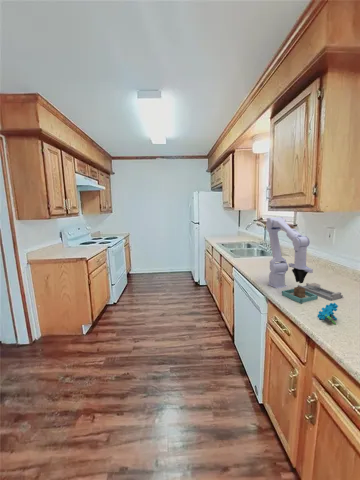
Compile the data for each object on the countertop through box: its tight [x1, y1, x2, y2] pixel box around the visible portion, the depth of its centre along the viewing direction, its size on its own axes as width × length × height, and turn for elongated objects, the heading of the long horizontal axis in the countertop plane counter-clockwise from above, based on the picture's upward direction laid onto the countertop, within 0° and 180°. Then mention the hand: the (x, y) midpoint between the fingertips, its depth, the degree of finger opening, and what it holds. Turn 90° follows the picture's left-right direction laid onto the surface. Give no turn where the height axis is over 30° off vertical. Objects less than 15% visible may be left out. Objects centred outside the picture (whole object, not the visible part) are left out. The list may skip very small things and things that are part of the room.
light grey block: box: [308, 282, 321, 291], centre depth 139 cm, size 4×5×4 cm
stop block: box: [293, 286, 306, 299], centre depth 132 cm, size 4×4×5 cm
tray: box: [281, 288, 319, 305], centre depth 132 cm, size 14×12×2 cm
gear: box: [317, 302, 339, 325], centre depth 106 cm, size 11×6×10 cm
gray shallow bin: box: [297, 282, 344, 302], centre depth 136 cm, size 22×10×4 cm, turn 20°
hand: (299, 282), depth 131 cm, fingers closed
